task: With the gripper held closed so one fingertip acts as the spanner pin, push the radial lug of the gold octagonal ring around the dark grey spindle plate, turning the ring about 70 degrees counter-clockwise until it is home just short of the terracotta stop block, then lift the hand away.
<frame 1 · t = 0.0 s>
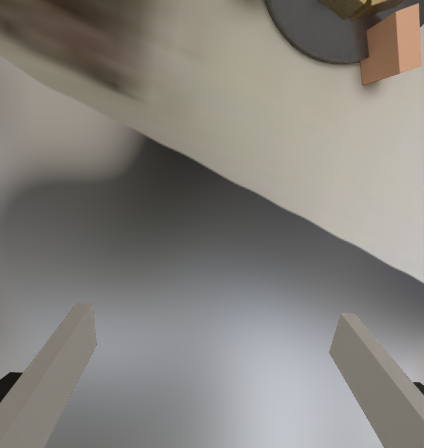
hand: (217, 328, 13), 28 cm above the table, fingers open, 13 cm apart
stop block: (368, 58, 34), on the table
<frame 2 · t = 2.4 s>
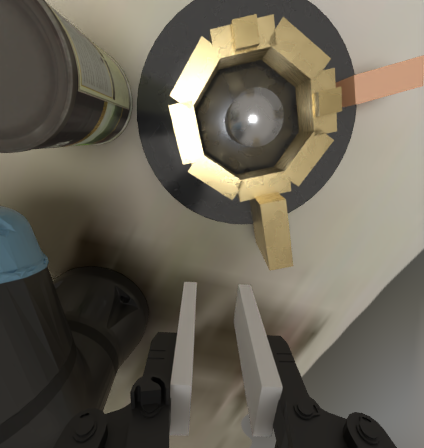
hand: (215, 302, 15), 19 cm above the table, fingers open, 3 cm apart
spindle plate: (244, 122, 29), on the table
coffee can: (88, 97, 28), on the table
stop block: (346, 93, 28), on the table
gold octagonal ring: (259, 155, 25), point 6 cm above the table, hinge at 0.0°
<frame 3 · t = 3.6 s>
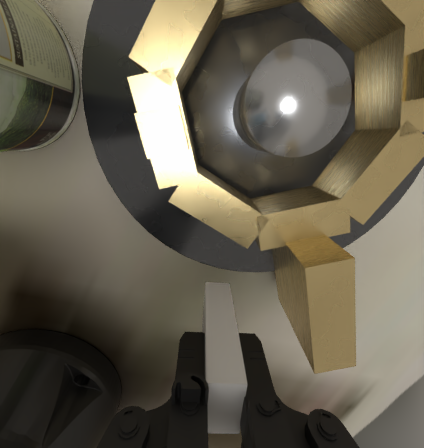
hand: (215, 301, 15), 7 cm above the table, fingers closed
spindle plate: (263, 114, 18), on the table
coffee can: (5, 72, 17), on the table
gold octagonal ring: (296, 171, 14), point 6 cm above the table, hinge at 0.0°
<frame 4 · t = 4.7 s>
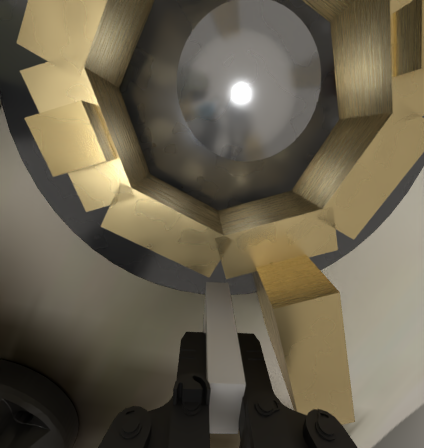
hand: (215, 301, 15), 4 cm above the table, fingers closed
spindle plate: (228, 108, 15), on the table
gold octagonal ring: (261, 178, 11), point 6 cm above the table, hinge at 4.1°, touching gripper
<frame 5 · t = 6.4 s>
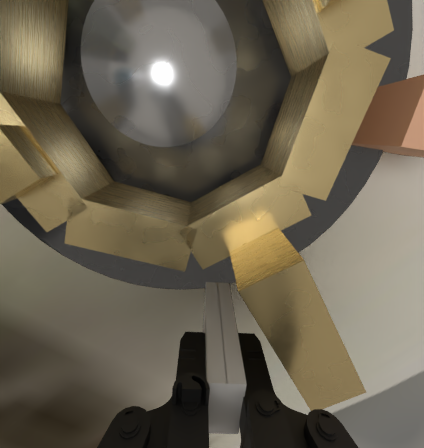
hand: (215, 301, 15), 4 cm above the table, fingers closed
spindle plate: (179, 96, 15), on the table
stop block: (369, 128, 16), on the table
gold octagonal ring: (210, 158, 10), point 6 cm above the table, hinge at 40.4°, touching gripper
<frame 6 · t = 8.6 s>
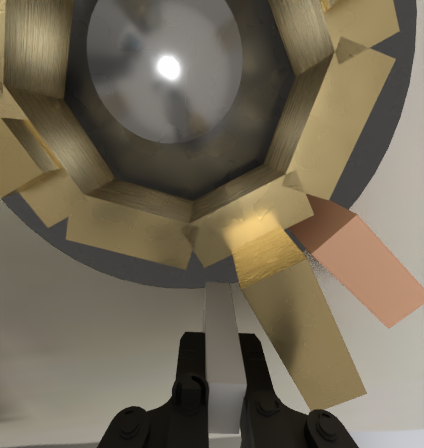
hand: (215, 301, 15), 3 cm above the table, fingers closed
spindle plate: (183, 95, 15), on the table
stop block: (310, 224, 18), on the table
gold octagonal ring: (213, 156, 10), point 6 cm above the table, hinge at 74.0°, touching gripper
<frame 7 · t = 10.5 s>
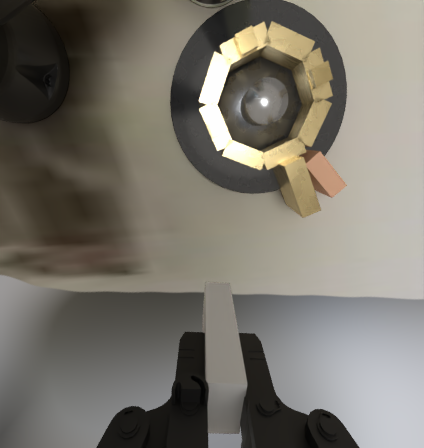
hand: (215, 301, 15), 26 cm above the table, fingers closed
spindle plate: (255, 108, 36), on the table
stop block: (305, 169, 39), on the table
gold octagonal ring: (274, 130, 31), point 6 cm above the table, hinge at 74.0°
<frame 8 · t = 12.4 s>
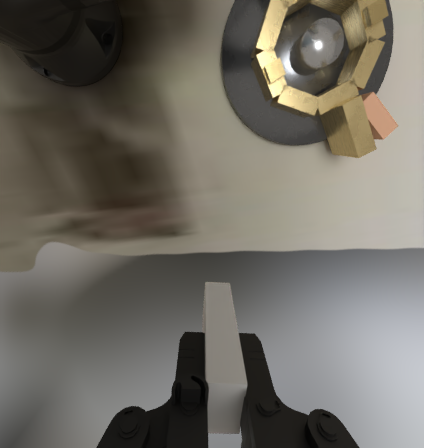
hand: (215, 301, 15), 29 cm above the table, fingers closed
spindle plate: (301, 59, 37), on the table
stop block: (349, 119, 40), on the table
gold octagonal ring: (327, 74, 32), point 6 cm above the table, hinge at 74.0°
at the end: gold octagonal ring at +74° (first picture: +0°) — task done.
